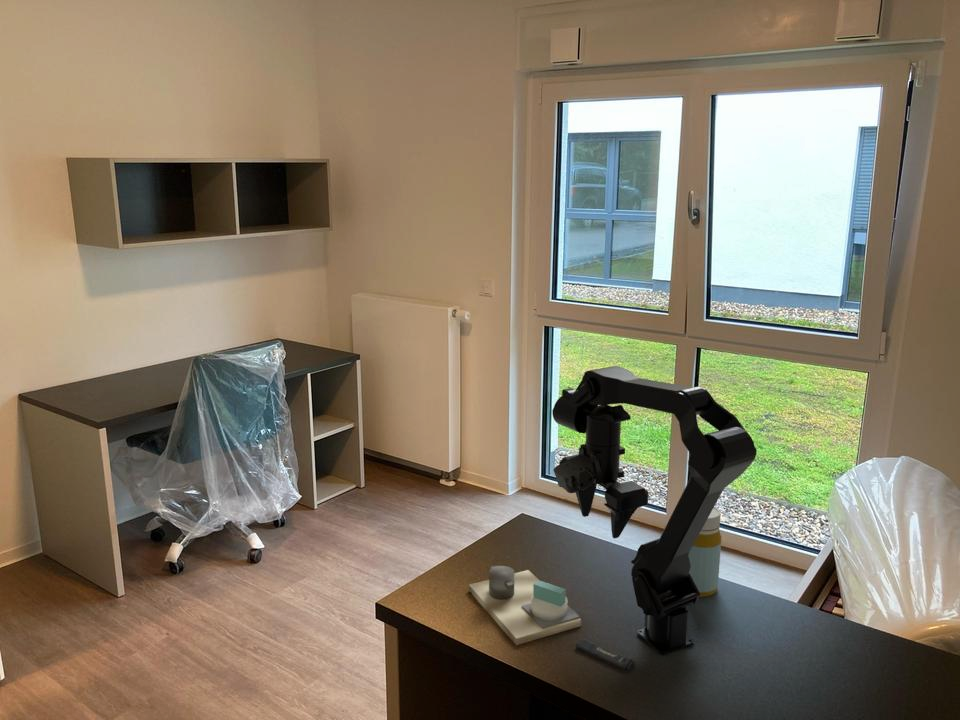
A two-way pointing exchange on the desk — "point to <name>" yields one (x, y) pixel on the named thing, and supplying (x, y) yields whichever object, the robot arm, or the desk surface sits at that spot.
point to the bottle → (707, 556)
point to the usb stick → (605, 655)
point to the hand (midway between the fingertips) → (600, 526)
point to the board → (517, 605)
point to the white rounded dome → (548, 601)
